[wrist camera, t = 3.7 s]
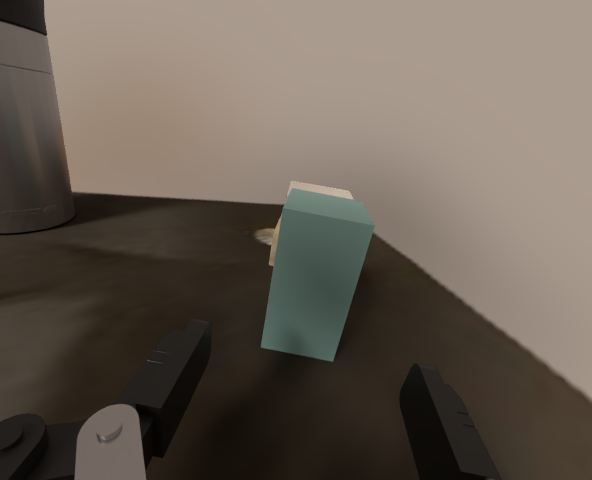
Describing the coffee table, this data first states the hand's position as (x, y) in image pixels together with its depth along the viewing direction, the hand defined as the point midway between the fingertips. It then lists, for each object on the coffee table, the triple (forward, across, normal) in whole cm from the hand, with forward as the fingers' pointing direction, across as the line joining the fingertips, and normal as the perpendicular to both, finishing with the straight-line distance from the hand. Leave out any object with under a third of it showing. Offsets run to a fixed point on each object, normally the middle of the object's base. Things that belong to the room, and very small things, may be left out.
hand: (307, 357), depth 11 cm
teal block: (+8, 0, +6) cm, 10 cm away
